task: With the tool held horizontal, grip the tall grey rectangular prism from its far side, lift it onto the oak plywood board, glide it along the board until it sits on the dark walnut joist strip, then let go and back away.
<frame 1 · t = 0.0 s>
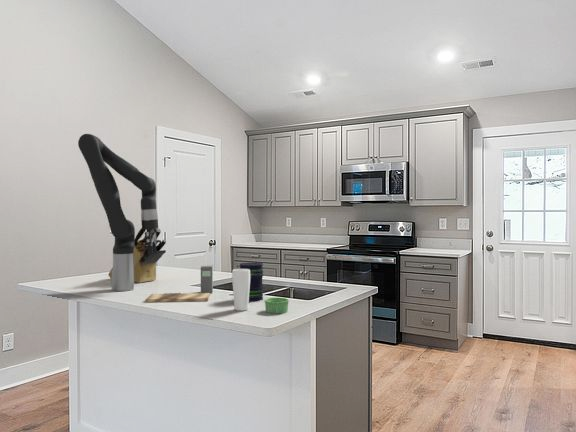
hand: (152, 253, 217), 17 cm above the table, tool pointing down, fingers open, 8 cm apart
knife block: (137, 281, 244), on the table
tall grey rectangular prism: (206, 292, 208), on the table
storage jar: (251, 299, 192), on the table
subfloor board: (178, 298, 193), on the table
drinking glass: (241, 310, 171), on the table
ramekin: (276, 312, 169), on the table
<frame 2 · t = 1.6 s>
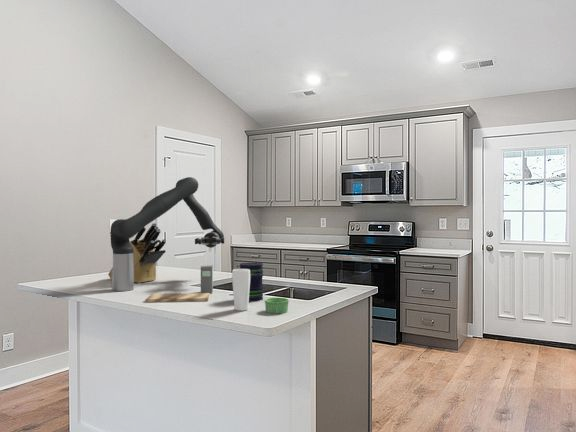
hand: (208, 242, 218), 22 cm above the table, tool horizontal, fingers open, 8 cm apart
nothing on the table moved.
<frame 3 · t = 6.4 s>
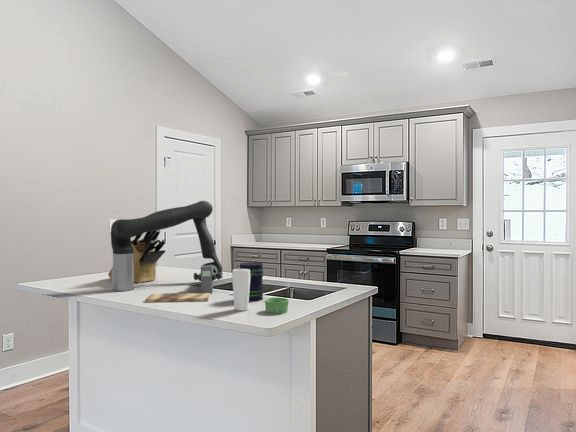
hand: (206, 278, 205), 7 cm above the table, tool horizontal, fingers closed on tall grey rectangular prism, 5 cm apart
tall grey rectangular prism: (206, 292, 208), on the table, touching gripper
everything else where it was.
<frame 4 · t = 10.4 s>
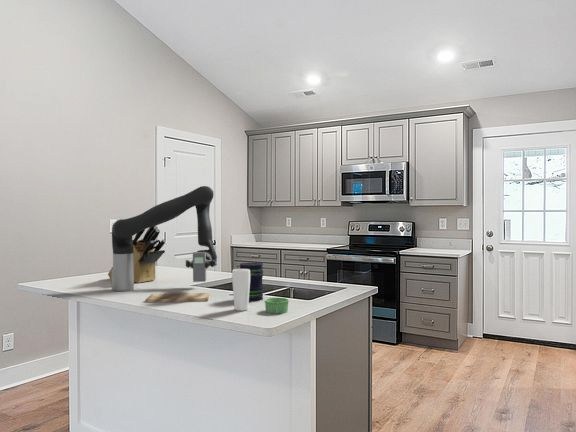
hand: (199, 265, 191), 14 cm above the table, tool horizontal, fingers closed on tall grey rectangular prism, 5 cm apart
tall grey rectangular prism: (199, 280, 194), point 7 cm above the table, touching gripper
everything else where it was.
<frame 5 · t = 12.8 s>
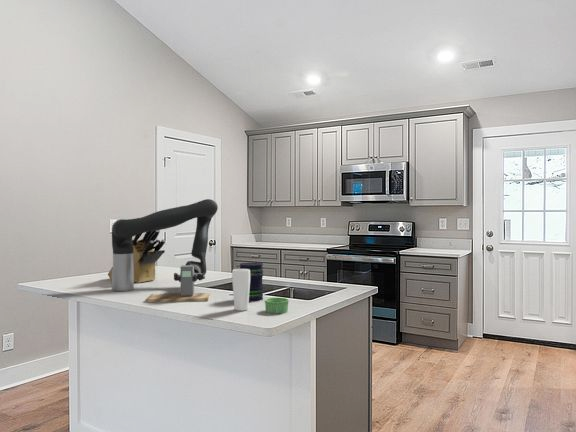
hand: (186, 279, 190), 9 cm above the table, tool horizontal, fingers closed on tall grey rectangular prism, 5 cm apart
tall grey rectangular prism: (187, 294, 193), point 2 cm above the table, touching gripper
everything else where it was.
when the fingers open (9 cm above the table, at t = 14.8 s): tall grey rectangular prism stays where it is, resting on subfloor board.
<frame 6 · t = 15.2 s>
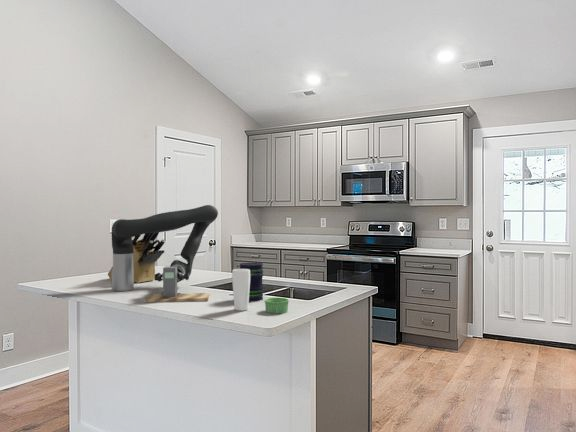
hand: (169, 278, 190), 9 cm above the table, tool horizontal, fingers open, 8 cm apart
tall grey rectangular prism: (170, 295, 193), point 1 cm above the table, touching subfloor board
everything else where it was.
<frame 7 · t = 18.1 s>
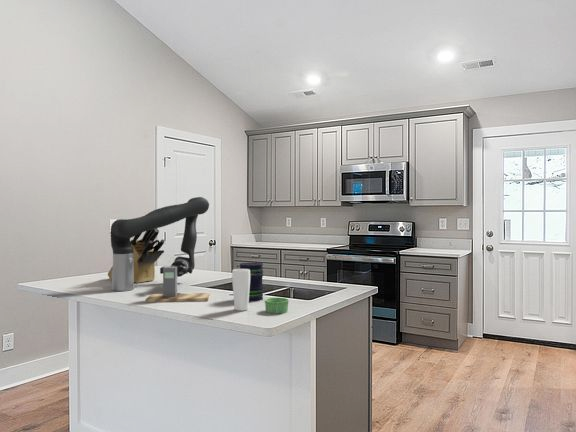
hand: (174, 272, 204), 10 cm above the table, tool horizontal, fingers open, 8 cm apart
nothing on the table moved.
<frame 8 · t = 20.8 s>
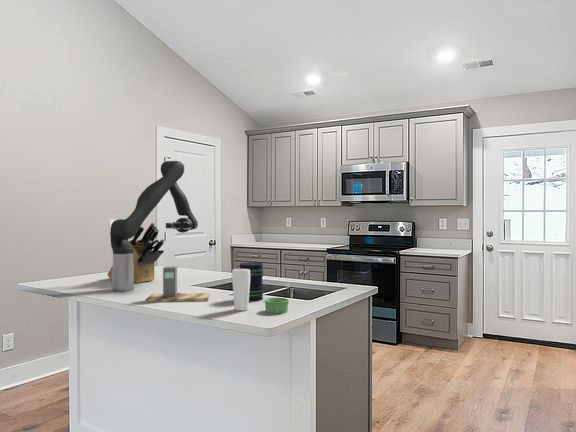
hand: (179, 226, 218), 30 cm above the table, tool horizontal, fingers open, 8 cm apart
nothing on the table moved.
at the end: tall grey rectangular prism inside the target area (0.0 cm from its centre), point 1.4 cm above the table; tall grey rectangular prism tilted 0°; the gripper is holding nothing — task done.
